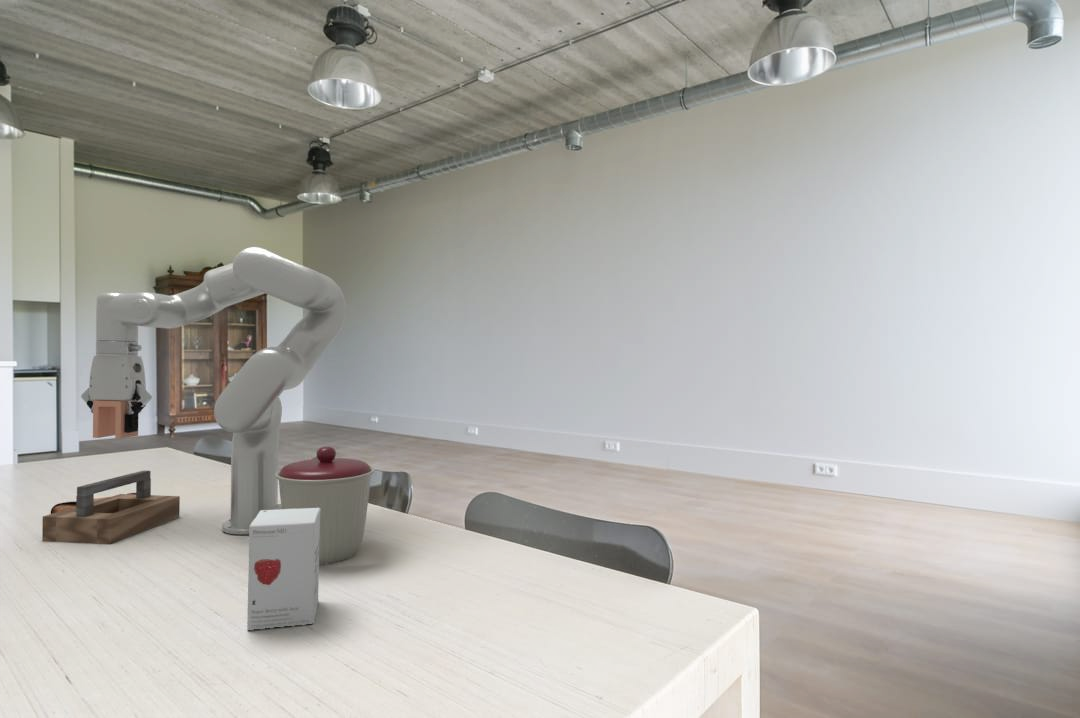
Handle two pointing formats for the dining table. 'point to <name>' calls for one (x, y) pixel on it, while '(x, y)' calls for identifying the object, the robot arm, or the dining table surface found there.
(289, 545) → the supplement box
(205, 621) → the dining table surface
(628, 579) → the dining table surface
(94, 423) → the pink u-channel block
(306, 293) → the robot arm
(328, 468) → the canister
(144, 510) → the wooden rectangular frame
